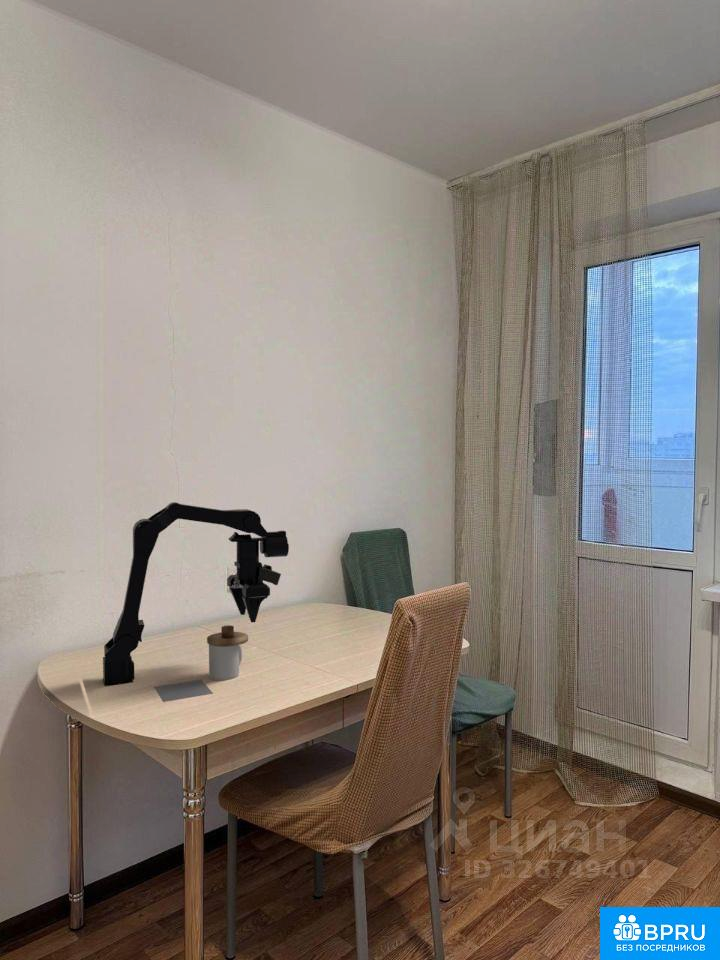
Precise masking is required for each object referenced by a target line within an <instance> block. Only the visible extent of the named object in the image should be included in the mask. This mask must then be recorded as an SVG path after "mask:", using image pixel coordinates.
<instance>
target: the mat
mask: <svg viewBox="0 0 720 960" xmlns="http://www.w3.org/2000/svg"><path fill="white" fill-rule="evenodd" d="M154 688H155V690H156V693H157V694H158V695H159V696H160V698H161V700H162V701H163V703H165V702H170V701H171V702H172V701H177V700H183V699H188V698H194V697H200V696H206V695H213V694H214V692H213V691H211V689H210V688H209V687H208V685H206V683H205V682H204V681H203V679H201V678H200V679H195V680H189V681H182V682H176V683H175V682H174V683H170V684H169V683H168V684H163V685H161V684H160V685H157V686H156V685H155V686H154Z"/></svg>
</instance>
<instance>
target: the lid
mask: <svg viewBox="0 0 720 960" xmlns="http://www.w3.org/2000/svg"><path fill="white" fill-rule="evenodd" d="M220 629H221V630H220V631H221V632H215V633H213V634H210V635H208V636H207V637H206V643H207V644H208V646H209V645H212V646H222V647H225V646H236V645H243V644H245V643H248V641H249V635H248V634H247V633H245V632H242V631H235V630H234V629H235V628H234V625H229V624H228V625H223V626H221V628H220Z"/></svg>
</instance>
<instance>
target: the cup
mask: <svg viewBox="0 0 720 960" xmlns="http://www.w3.org/2000/svg"><path fill="white" fill-rule="evenodd" d="M241 645H242V644H240V645H236V646H225V647H222V646H212V645H209V644H208V666H209V667H208V668H209V669H208V670H209V671H208V674H209V675H208V676H209V679H211V680H214V681H229V680H234V679H237V678H238V677H239V675H240V665H241V664H242V659H243V649H242V646H241Z"/></svg>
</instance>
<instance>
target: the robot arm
mask: <svg viewBox="0 0 720 960" xmlns="http://www.w3.org/2000/svg"><path fill="white" fill-rule="evenodd" d="M177 520H184V521H193V522H201V523H206V524H207V523H208V524H214V525H221V526H225V527H229V528H230V529H234V530H237V531H239V532H240V531H241V532H243V533H246V534H239V533H238V532H237V531H234V532H233V534H232V535H231V536H229V537H228V540H229V542H231V543H236V561H234V566H235V567H236V574H231V575H228V577H227V579H226V584H227V585H226V586H228V590H229V591H230V594H231V597H233V600H234V602H235V604H236V607H237V610H238V611H239V613H240V615H241V616H244V615H246V613H247V615H248V619H249V621H250V623H255V622H256V621H257V618H258V613H259V611H260V608H261V604H262V602H264V600H265V599H268V598H269V596H271V587H270V586H269V585H267V584H266V583H264V582H267V583H270V584H273V585H275V586H278V584H279V581H280V580H281V579H280V578H281V576H282V573H281V572H280V573H279V572H278V571H275V570H273V567H272V565H268V564H264V565H263V563H262V562H260V554H263V556H264V557H265V558H280V557H281V558H282V557H288V555H289V549H290V544H289V541H288V537H287V531H285V530H278V531H277V530H276V531H267V529H265V527H264V526H263V525H262V520H261V517H260V515H259V514H258V513H257V512H256V511H254V510H250V509H247V508H245V509H244V508H243V509H224V510H223V509H216V508H210V507H204V506H202V507H201V506H197V505H190V504H183V503H178V502H176V501H175V502H174V501H173V502H170V503H168V505H167V506H165V507H164V508H162V509H161V510H159V511H158V512H156V513H154V514H153V515H151V516H149V518H142V519H138V521H136V522H135V523H134V525H133V527H132V559H131V564H130V571H129V575H128V580H127V586H126V592H125V596H124V603H123V607H122V611H121V613H120V615H119V618H118V620H117V622H116V626H115V628H114V630H113V633H112V637H111V638H110V639H109V640H108V641H107V643H105V644H104V645H103V649H104V652H103V653H104V657H103V656H102V679H101V681H102V683H103V685H104V687H111V686H117V685H119V686H120V685H126V684H131V683H134V679H135V662H134V660H133V658H132V655H131V653H132V652H133V651H135V650H136V649H137V648H138V646H139V644H140V643H142V642H143V641H142V634H143V632H144V628H145V623H144V620H143V619H139V618H140V617H139V613H140V610H141V609H140V607H141V603H142V597H143V591H144V588H145V582H146V577H147V571H148V566H149V559H150V557H151V555H152V553H153V551H154V548H155V546H156V544H157V540H158V538H159V535H160V534H161V533H162V532H163V531H165V530H166V529H167V528H168V527H169V526H170V525H172V524H173V523H174V522H175V521H177ZM251 534H254V535H256V536H258V537H252V535H251Z"/></svg>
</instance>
